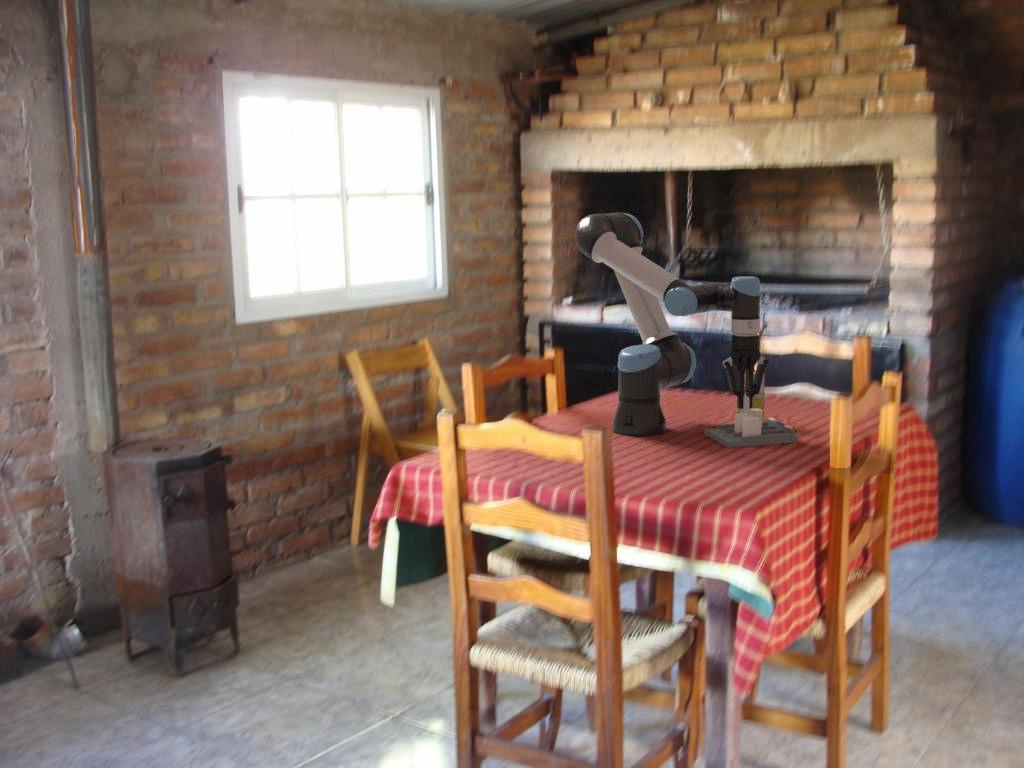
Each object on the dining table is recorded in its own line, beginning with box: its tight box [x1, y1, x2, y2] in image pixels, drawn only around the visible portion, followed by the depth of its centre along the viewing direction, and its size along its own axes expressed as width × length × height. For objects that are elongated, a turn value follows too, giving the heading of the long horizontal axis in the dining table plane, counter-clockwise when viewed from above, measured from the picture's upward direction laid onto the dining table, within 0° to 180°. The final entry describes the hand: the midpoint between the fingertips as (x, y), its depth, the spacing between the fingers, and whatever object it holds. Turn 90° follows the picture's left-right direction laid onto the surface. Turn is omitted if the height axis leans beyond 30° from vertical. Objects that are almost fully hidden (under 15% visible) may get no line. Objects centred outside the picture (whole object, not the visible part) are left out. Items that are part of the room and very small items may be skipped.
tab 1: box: [734, 413, 753, 432], centre depth 295 cm, size 4×3×5 cm
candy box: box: [736, 369, 766, 422], centre depth 313 cm, size 9×4×15 cm, turn 17°
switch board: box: [704, 417, 800, 449], centre depth 295 cm, size 20×16×4 cm
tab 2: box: [749, 408, 763, 426], centre depth 300 cm, size 4×3×5 cm
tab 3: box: [742, 417, 761, 436], centre depth 290 cm, size 4×3×5 cm
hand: (744, 420), depth 300 cm, fingers closed
